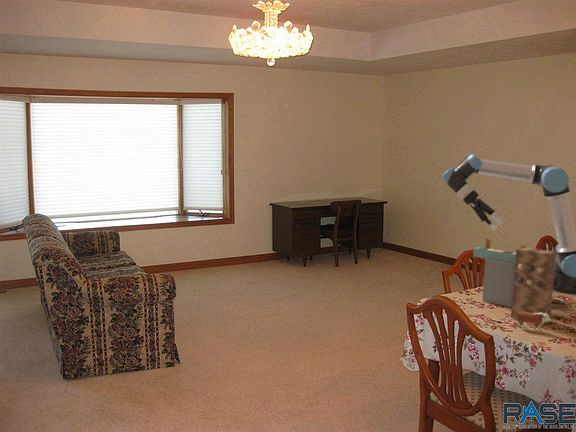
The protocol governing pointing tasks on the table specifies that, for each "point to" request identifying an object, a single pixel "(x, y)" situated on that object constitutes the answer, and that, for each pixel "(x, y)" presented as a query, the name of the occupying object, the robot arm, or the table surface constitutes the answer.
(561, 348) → the table surface
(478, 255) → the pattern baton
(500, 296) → the grey plinth
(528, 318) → the bull figurine
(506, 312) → the table surface
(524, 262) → the walnut stand
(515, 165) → the robot arm
